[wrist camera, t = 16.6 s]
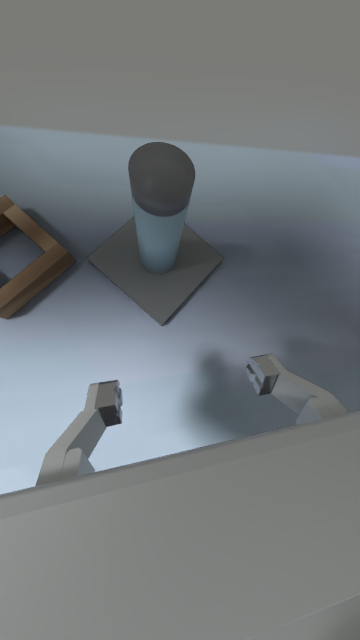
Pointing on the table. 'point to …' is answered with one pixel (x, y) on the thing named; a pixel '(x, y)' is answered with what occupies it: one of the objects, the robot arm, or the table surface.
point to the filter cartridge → (160, 201)
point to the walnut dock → (38, 274)
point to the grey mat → (155, 289)
